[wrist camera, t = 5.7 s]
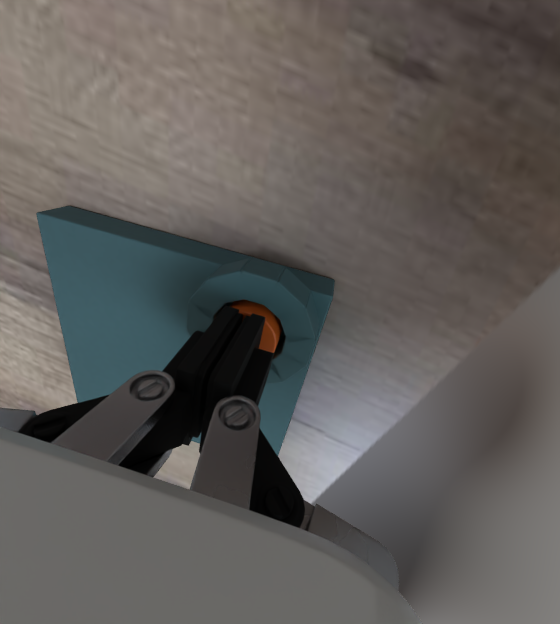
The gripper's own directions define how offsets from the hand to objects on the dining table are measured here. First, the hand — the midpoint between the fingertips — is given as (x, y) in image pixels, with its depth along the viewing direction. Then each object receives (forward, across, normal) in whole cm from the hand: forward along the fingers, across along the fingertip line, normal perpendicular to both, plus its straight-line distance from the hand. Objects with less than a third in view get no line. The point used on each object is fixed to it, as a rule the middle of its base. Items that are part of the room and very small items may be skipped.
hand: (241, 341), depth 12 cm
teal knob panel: (+4, +4, +4) cm, 7 cm away
